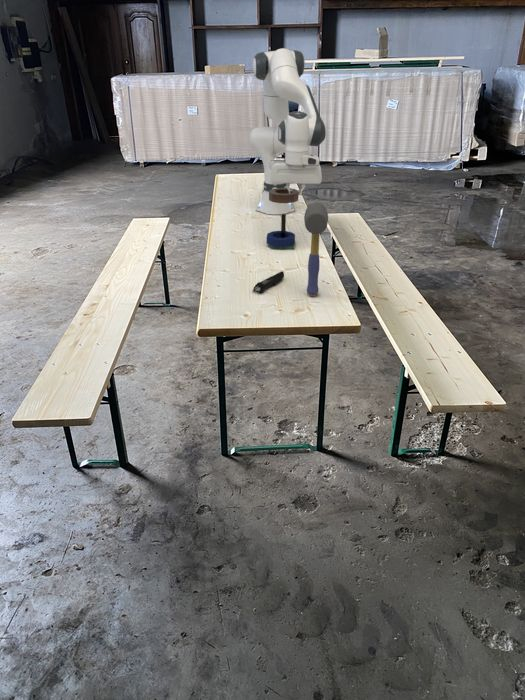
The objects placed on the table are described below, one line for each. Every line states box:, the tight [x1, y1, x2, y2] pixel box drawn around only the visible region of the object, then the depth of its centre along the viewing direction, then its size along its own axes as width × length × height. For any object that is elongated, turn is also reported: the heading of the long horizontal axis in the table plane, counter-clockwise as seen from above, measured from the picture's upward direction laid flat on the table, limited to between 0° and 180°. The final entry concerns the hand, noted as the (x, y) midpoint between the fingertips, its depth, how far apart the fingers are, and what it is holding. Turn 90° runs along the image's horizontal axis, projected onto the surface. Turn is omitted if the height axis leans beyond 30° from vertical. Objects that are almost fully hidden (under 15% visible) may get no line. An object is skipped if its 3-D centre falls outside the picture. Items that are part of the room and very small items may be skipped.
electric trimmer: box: [252, 271, 285, 294], centre depth 183 cm, size 4×16×3 cm, turn 144°
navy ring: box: [266, 230, 296, 247], centre depth 219 cm, size 12×12×3 cm
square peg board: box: [271, 213, 295, 250], centre depth 217 cm, size 9×9×13 cm
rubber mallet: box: [303, 201, 329, 297], centre depth 170 cm, size 12×8×30 cm, turn 175°
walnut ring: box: [269, 187, 299, 204], centre depth 210 cm, size 12×12×3 cm
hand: (295, 194), depth 209 cm, fingers closed on walnut ring, 2 cm apart
